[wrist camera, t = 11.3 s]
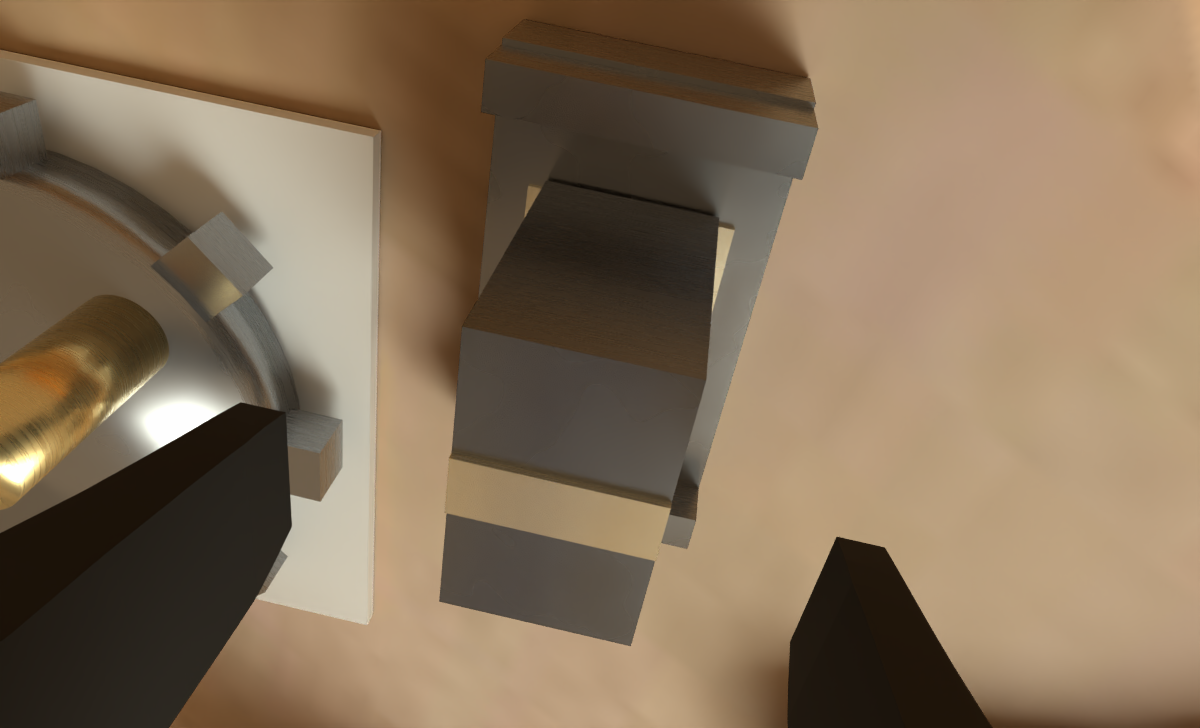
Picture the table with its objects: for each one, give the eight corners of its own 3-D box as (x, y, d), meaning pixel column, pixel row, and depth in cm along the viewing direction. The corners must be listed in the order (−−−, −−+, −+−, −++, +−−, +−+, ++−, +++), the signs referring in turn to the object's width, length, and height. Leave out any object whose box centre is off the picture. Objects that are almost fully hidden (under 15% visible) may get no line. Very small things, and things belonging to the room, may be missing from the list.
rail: (693, 473, 19) (686, 552, 17) (480, 425, 19) (448, 497, 17) (810, 78, 14) (820, 121, 12) (524, 19, 15) (486, 52, 12)
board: (372, 613, 24) (367, 625, 23) (-98, 503, 24) (-110, 512, 24) (381, 130, 16) (373, 137, 16) (-310, -17, 16) (-332, -14, 16)
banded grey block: (660, 444, 17) (629, 652, 13) (515, 411, 17) (436, 607, 13) (719, 217, 14) (705, 386, 10) (545, 180, 14) (459, 331, 10)
